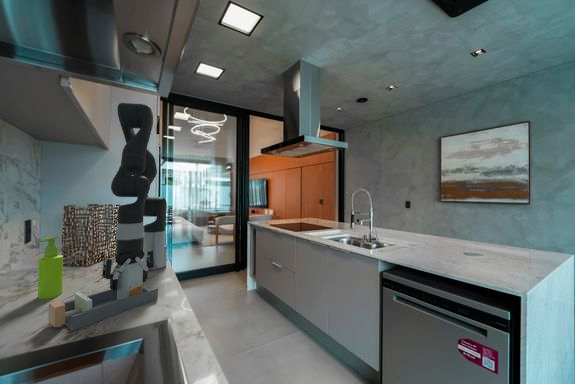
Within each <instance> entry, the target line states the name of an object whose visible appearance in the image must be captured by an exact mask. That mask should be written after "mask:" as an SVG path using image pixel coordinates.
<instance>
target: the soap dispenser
mask: <svg viewBox="0 0 575 384" xmlns="http://www.w3.org/2000/svg"><path fill="white" fill-rule="evenodd" d="M58 238H59V237H58V236H46V237H43V238H41V239H39V240H38V241H39V242H41V243H43V242H47V245H46V246H45V247H44V249H43V251H44V252H43V255H44V256H41V257H39V258H38V278H37V279H38V282H37V299H38V300H48V299H52V298H56V297H59V296H61V295H62V294H63V285H64V284H63V283H64V279H63V278H64V277H63V276H64V273H63V272H64V255H63V254H59V245H56V239H58Z"/></svg>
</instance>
